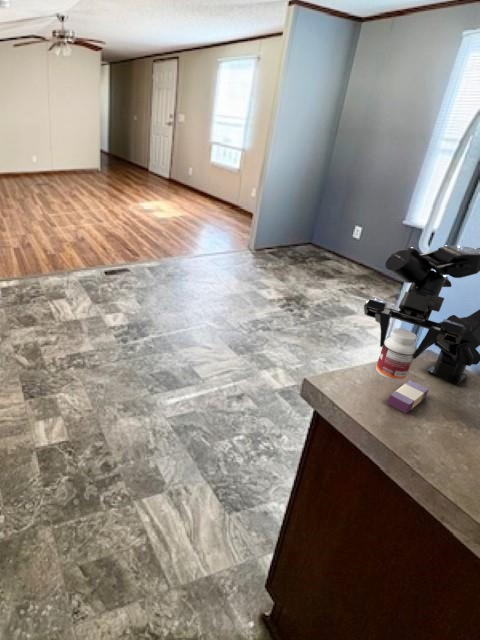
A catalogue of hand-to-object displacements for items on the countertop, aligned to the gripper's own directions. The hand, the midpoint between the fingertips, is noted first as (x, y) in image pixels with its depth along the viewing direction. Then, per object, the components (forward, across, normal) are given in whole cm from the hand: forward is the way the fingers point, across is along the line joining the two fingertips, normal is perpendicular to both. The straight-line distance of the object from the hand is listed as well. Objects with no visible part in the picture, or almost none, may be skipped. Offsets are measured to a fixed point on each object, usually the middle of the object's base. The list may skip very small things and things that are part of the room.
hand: (397, 352), depth 96 cm
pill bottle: (+4, 0, +6) cm, 7 cm away
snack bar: (+7, +5, +10) cm, 13 cm away
